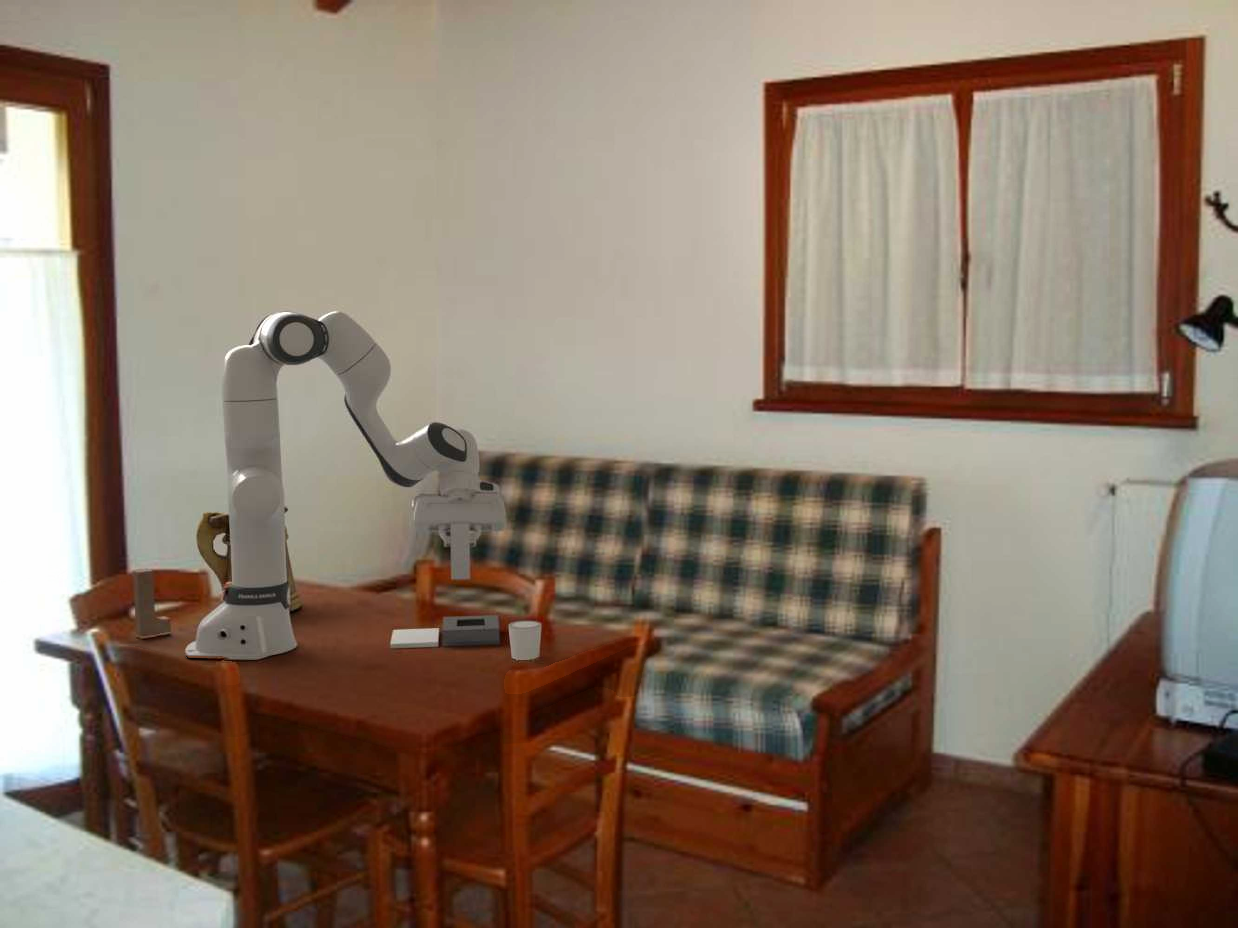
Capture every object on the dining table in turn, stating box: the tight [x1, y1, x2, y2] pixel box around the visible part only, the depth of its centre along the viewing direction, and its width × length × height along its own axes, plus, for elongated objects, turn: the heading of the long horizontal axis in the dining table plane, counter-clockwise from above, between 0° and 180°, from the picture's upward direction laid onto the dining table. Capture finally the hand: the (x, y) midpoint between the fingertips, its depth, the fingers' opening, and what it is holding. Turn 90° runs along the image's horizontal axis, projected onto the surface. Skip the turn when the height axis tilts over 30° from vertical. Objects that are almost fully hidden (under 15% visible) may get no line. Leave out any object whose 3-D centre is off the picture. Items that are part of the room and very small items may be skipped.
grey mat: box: [389, 627, 440, 649], centre depth 267 cm, size 10×12×1 cm
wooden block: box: [132, 567, 172, 636], centre depth 271 cm, size 7×3×15 cm, turn 131°
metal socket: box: [442, 614, 501, 647], centre depth 268 cm, size 12×12×4 cm
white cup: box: [507, 620, 542, 661], centre depth 253 cm, size 7×7×7 cm
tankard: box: [196, 505, 302, 613], centre depth 293 cm, size 18×24×25 cm
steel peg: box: [450, 521, 471, 580], centre depth 266 cm, size 4×4×12 cm
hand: (460, 545), depth 265 cm, fingers closed on steel peg, 4 cm apart
